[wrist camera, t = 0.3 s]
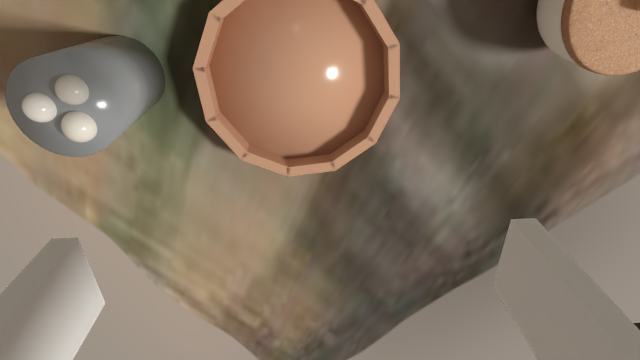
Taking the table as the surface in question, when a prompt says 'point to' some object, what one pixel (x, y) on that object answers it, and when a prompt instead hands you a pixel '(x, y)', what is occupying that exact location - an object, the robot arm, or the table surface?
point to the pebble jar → (84, 94)
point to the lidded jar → (593, 33)
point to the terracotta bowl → (298, 80)
